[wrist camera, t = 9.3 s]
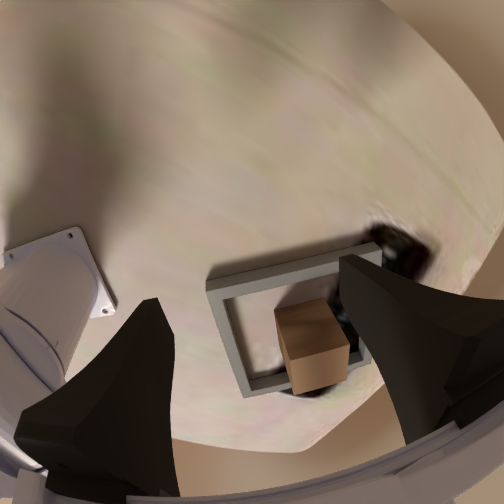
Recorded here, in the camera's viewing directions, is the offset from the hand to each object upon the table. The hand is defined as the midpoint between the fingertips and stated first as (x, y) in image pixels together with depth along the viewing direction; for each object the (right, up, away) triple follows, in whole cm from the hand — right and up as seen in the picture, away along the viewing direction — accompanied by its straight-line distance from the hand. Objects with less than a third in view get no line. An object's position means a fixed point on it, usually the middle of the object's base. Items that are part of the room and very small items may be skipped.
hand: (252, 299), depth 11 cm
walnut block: (+4, -5, +15) cm, 16 cm away
